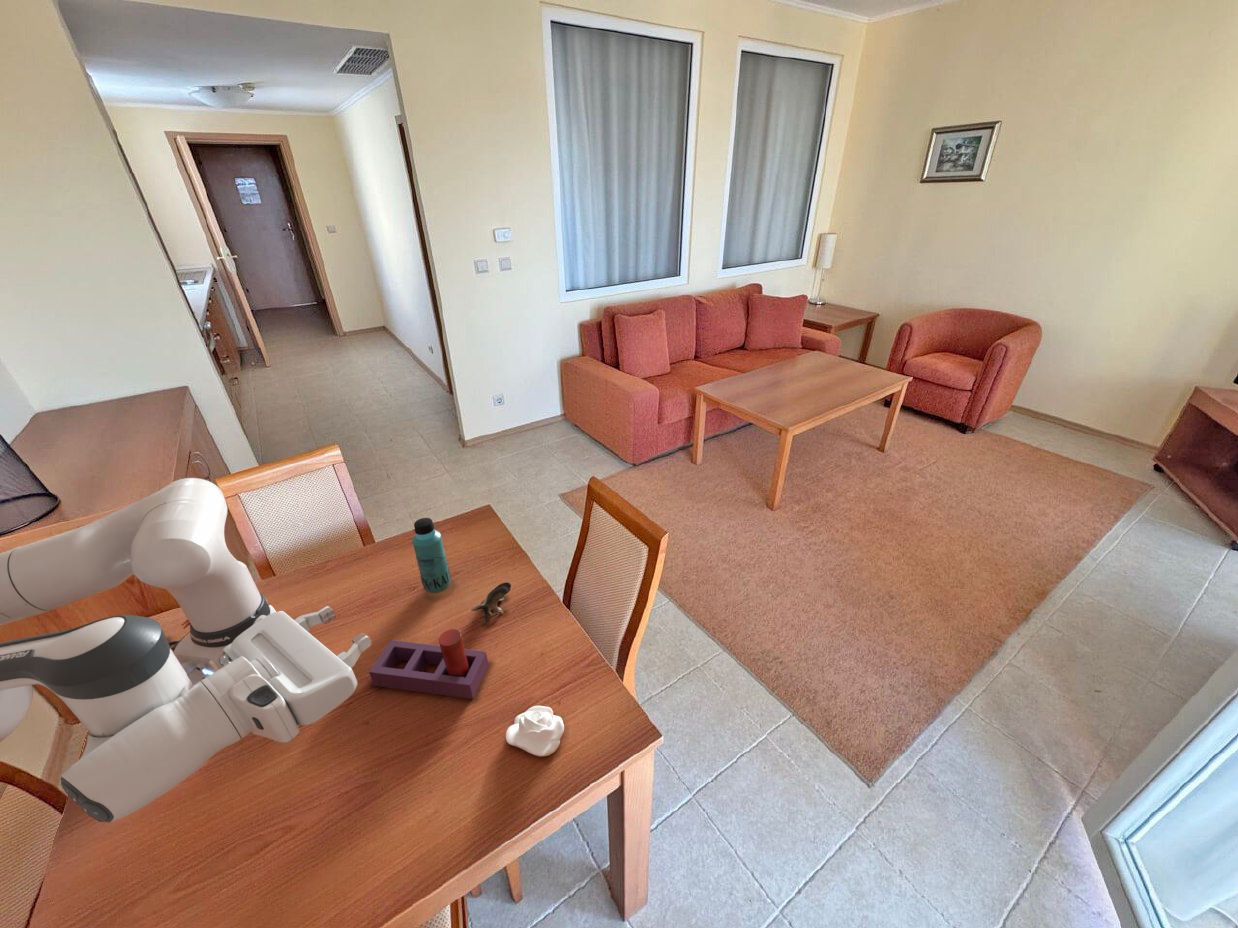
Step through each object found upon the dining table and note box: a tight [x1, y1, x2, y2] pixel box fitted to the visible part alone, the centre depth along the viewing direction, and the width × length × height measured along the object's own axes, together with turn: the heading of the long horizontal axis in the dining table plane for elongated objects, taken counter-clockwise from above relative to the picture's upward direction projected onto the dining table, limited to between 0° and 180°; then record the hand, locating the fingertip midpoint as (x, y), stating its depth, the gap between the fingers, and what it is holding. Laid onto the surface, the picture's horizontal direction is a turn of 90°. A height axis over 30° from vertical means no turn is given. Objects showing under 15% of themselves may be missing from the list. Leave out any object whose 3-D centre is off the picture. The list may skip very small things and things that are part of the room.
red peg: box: [438, 628, 470, 678], centre depth 94 cm, size 4×4×12 cm
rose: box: [505, 705, 565, 757], centre depth 86 cm, size 10×4×10 cm
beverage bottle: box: [411, 517, 452, 594], centre depth 115 cm, size 6×7×20 cm
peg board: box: [368, 639, 489, 700], centre depth 97 cm, size 20×8×4 cm, turn 81°
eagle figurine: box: [470, 581, 512, 626], centre depth 112 cm, size 8×7×9 cm
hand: (349, 624), depth 73 cm, fingers open, 8 cm apart
